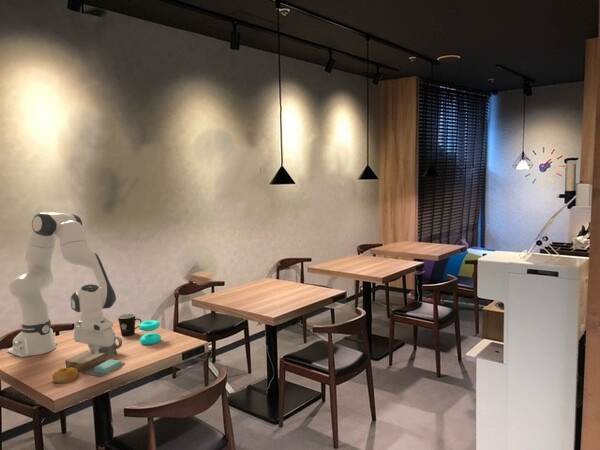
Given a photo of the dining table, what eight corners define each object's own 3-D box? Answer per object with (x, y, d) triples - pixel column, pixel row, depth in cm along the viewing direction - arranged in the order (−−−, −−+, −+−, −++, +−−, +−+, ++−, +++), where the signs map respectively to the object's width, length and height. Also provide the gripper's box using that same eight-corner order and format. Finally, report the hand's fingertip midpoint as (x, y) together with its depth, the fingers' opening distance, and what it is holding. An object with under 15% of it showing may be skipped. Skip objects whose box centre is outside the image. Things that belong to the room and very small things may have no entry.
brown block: (66, 369, 206) (65, 360, 206) (88, 359, 217) (87, 350, 217) (84, 372, 202) (83, 363, 202) (106, 362, 213) (105, 353, 213)
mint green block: (104, 369, 199) (105, 373, 199) (120, 360, 207) (121, 365, 208) (94, 367, 201) (94, 371, 202) (110, 359, 210) (110, 363, 210)
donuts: (154, 325, 230) (135, 325, 231) (156, 345, 231) (136, 345, 232) (162, 319, 240) (143, 319, 241) (164, 338, 241) (145, 338, 242)
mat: (82, 373, 201) (82, 372, 201) (107, 361, 214) (107, 360, 214) (100, 376, 197) (100, 375, 197) (125, 363, 210) (125, 363, 210)
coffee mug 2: (116, 335, 248) (114, 317, 247) (130, 330, 255) (128, 312, 254) (129, 339, 242) (127, 320, 241) (143, 334, 249) (142, 315, 247)
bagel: (83, 372, 203) (82, 361, 202) (72, 384, 192) (71, 372, 191) (59, 374, 202) (58, 363, 202) (47, 386, 191) (46, 374, 191)
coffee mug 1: (88, 357, 220) (86, 336, 219) (102, 349, 229) (100, 329, 228) (114, 358, 217) (112, 337, 216) (126, 350, 226) (125, 330, 225)
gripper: (69, 322, 206) (71, 353, 207) (104, 327, 197) (106, 359, 199) (81, 318, 211) (83, 348, 213) (115, 323, 203) (117, 354, 205)
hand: (94, 353), depth 206 cm, fingers closed
